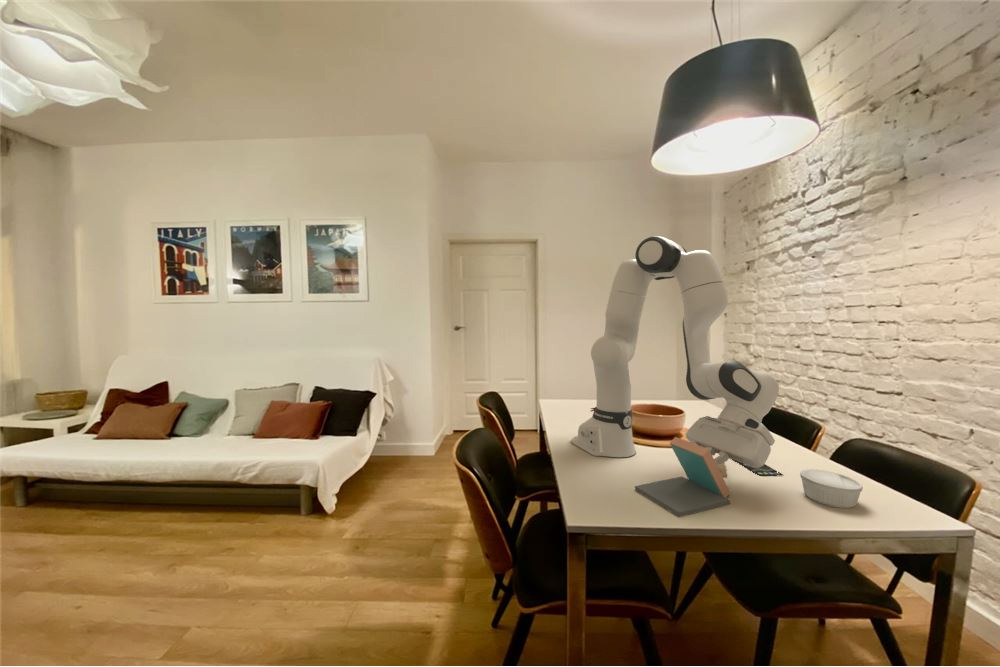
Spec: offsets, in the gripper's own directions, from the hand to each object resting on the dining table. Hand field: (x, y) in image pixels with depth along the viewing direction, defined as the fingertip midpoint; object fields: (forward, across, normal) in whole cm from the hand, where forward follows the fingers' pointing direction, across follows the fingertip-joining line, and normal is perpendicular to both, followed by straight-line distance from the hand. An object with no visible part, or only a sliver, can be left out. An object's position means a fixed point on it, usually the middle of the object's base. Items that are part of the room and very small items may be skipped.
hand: (708, 465), depth 95 cm
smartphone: (-14, -7, +24) cm, 28 cm away
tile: (+4, 0, +4) cm, 6 cm away
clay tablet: (-4, -11, +14) cm, 18 cm away
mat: (+11, 0, -2) cm, 12 cm away
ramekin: (-12, +14, +21) cm, 28 cm away
